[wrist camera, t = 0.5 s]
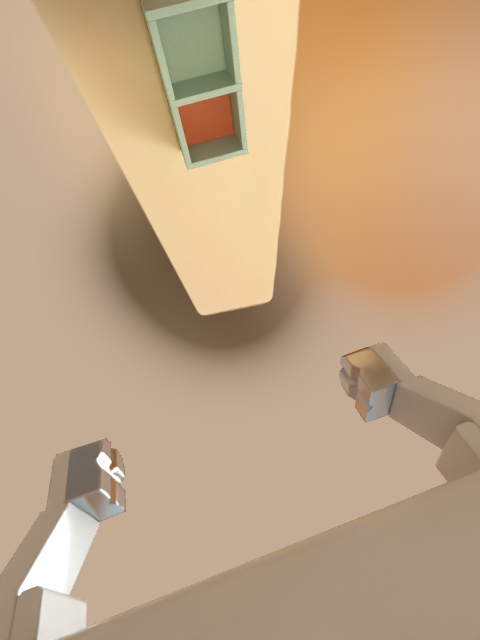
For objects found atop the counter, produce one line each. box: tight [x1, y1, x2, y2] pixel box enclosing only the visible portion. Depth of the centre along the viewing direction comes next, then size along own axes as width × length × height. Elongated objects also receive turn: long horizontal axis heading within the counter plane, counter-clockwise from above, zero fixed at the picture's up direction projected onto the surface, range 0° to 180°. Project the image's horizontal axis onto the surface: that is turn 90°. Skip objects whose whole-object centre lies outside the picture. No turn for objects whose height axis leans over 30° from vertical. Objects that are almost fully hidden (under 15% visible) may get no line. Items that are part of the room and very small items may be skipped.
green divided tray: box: [140, 0, 248, 170], centre depth 42 cm, size 18×9×5 cm, turn 7°
